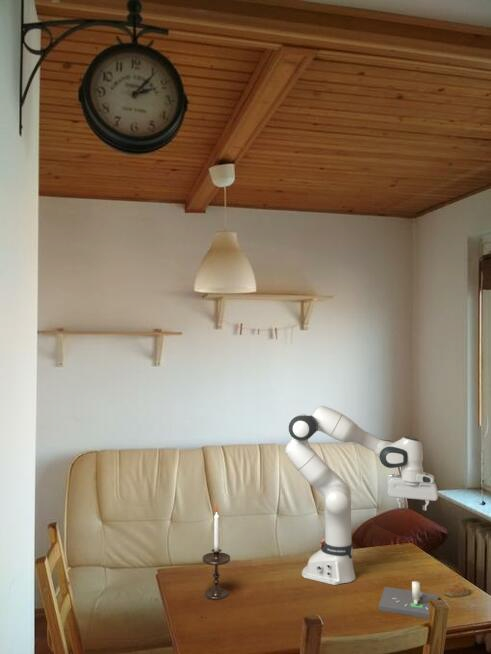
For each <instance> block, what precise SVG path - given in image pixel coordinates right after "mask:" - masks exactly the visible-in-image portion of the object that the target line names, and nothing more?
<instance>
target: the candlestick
mask: <svg viewBox="0 0 491 654" xmlns="http://www.w3.org/2000/svg"><path fill="white" fill-rule="evenodd" d="M214 509H215V515H214V516H213V523H214V524H213V525H214V526H213V549H212V550H211V552H208V553H206V554H204V555H203V556H202V562H203V563H204V564H206V565H210V566H214V573H213V574H212V577H213V579H214V580H213V584H214V587H212V588H211V587H210V588H208V589H206V590H205V591H204V597H205V598H206V597H207V598H206V599H208V600H211V601H221V600H224V599H226V598H227V597H228V596H229V592H228V590H227V589H225V588H223V587H219V583H220V580H219V579H220V577H221V574H220V573H219V566H223V565H227V564H228V563H230V562H231V555H229V553H225V552H222V549H220V515H219V514H218V506H217V504H216V503H215V504H214Z"/></svg>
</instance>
